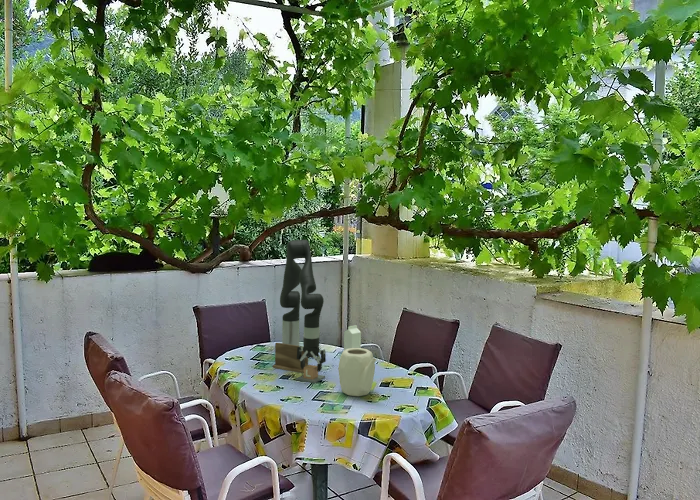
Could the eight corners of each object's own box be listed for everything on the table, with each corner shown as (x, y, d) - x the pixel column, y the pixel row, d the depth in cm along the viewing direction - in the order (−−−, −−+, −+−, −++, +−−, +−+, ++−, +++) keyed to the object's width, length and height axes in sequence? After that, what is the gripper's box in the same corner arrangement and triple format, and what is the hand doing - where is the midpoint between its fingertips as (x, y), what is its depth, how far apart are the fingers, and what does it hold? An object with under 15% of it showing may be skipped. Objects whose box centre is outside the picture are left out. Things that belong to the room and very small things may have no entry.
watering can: (358, 406, 244) (359, 361, 243) (327, 387, 267) (328, 346, 265) (389, 400, 252) (391, 356, 251) (356, 382, 275) (357, 342, 273)
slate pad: (306, 374, 285) (306, 372, 285) (325, 377, 281) (325, 375, 281) (296, 380, 276) (296, 378, 276) (314, 383, 272) (314, 381, 272)
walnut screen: (279, 364, 300) (279, 341, 299) (310, 370, 293) (310, 346, 291) (272, 367, 295) (272, 344, 294) (304, 373, 287) (304, 348, 286)
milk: (360, 369, 296) (361, 325, 294) (351, 371, 292) (352, 327, 290) (351, 366, 300) (353, 323, 298) (342, 368, 296) (344, 325, 294)
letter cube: (308, 374, 282) (309, 364, 282) (318, 376, 280) (318, 366, 279) (303, 377, 277) (303, 367, 277) (312, 379, 275) (312, 369, 275)
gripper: (328, 336, 277) (328, 370, 279) (302, 332, 283) (301, 365, 285) (321, 339, 271) (320, 374, 272) (294, 335, 277) (293, 369, 278)
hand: (310, 369), depth 279 cm, fingers open, 8 cm apart
